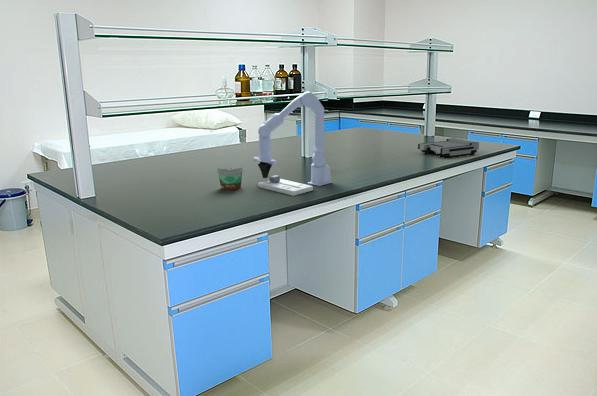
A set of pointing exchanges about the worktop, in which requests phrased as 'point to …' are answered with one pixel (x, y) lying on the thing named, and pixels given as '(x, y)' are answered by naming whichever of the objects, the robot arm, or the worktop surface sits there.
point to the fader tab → (274, 178)
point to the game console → (450, 148)
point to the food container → (230, 178)
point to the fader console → (286, 187)
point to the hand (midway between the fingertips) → (265, 177)
